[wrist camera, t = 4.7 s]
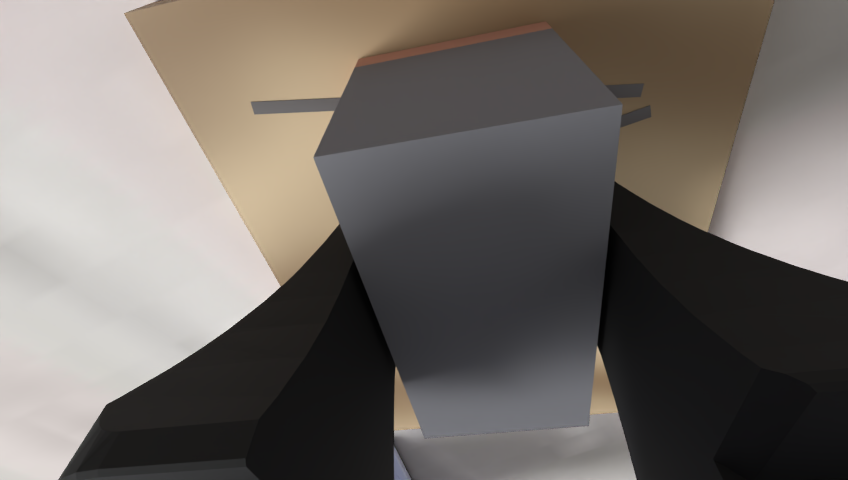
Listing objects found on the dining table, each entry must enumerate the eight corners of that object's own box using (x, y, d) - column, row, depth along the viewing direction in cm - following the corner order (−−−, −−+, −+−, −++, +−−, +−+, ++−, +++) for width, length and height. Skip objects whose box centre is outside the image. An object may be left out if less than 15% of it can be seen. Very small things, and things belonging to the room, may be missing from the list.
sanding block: (548, 290, 14) (588, 425, 10) (426, 304, 14) (424, 438, 11) (545, 21, 9) (622, 104, 5) (358, 59, 9) (313, 157, 6)
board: (645, 384, 19) (656, 409, 18) (368, 408, 21) (365, 433, 20) (772, -146, 8) (819, -152, 7) (153, 2, 10) (123, 13, 9)
